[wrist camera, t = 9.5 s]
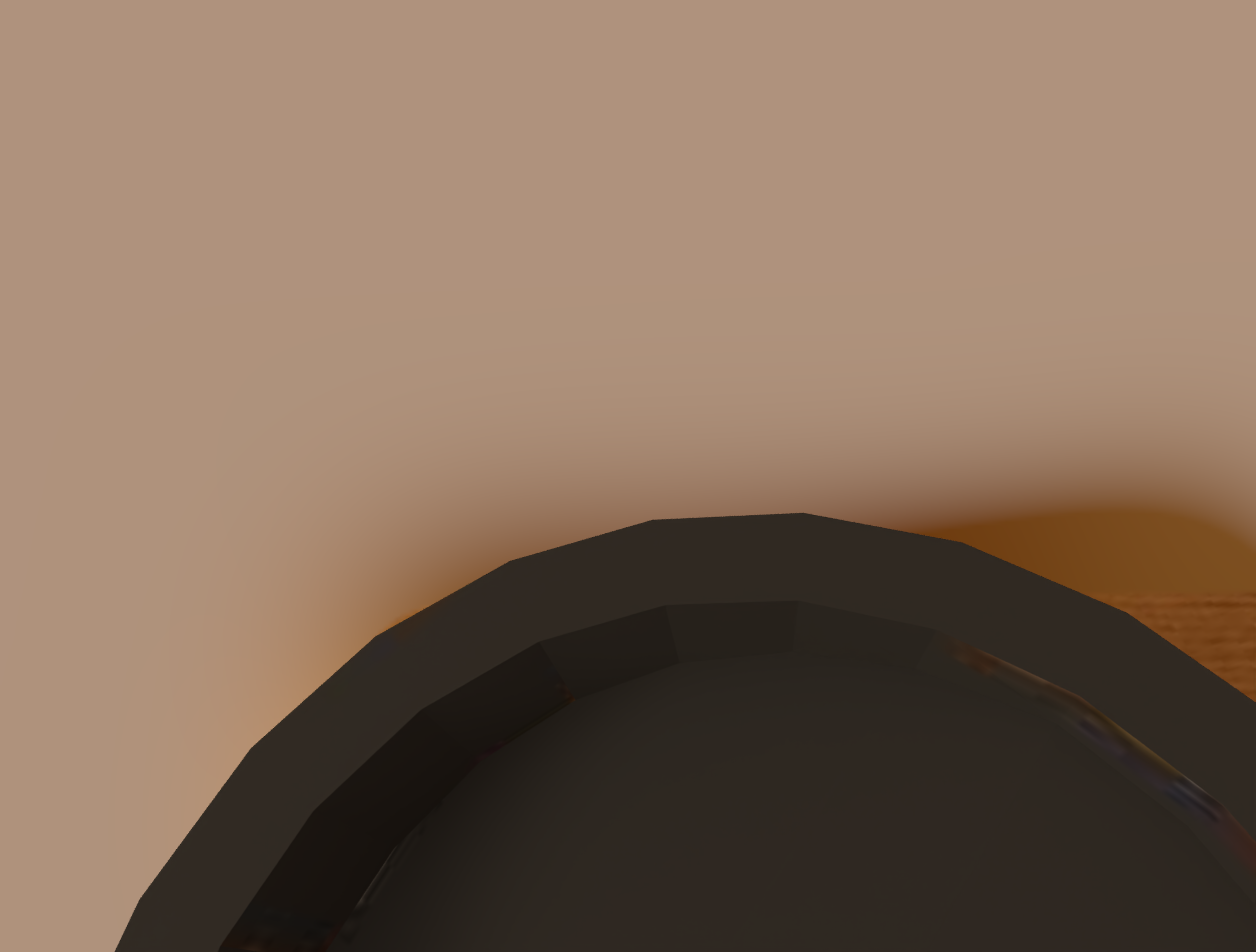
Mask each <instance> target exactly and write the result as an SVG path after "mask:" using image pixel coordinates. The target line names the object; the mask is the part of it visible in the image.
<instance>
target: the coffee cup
mask: <svg viewBox="0 0 1256 952" xmlns="http://www.w3.org/2000/svg"><path fill="white" fill-rule="evenodd" d="M115 952H1256V702H1254V701H1253V700H1251V699H1250V698H1248V697H1247V696H1246V695H1244V694H1243V693H1241V692H1240V691H1238V690H1237V689H1236V688H1234V687H1233V686H1231V685H1230V684H1228V683H1227V682H1226V681H1224V680H1223V679H1221V678H1220V677H1218V676H1217V675H1215V674H1214V673H1213V672H1211V671H1210V670H1208V669H1207V668H1205V667H1204V666H1203V665H1201V664H1200V663H1198V662H1197V661H1195V660H1194V659H1192V658H1191V657H1190V656H1188V655H1187V654H1185V653H1184V652H1182V651H1181V650H1180V649H1178V648H1177V647H1175V646H1174V645H1172V644H1171V643H1170V642H1168V641H1167V640H1165V639H1164V638H1162V637H1161V636H1159V635H1158V634H1157V633H1155V632H1154V631H1152V630H1151V629H1149V628H1148V627H1147V626H1145V625H1144V624H1142V623H1141V622H1139V621H1138V620H1137V619H1135V618H1134V617H1132V616H1131V615H1129V614H1128V613H1126V612H1124V611H1121V610H1119V609H1117V608H1114V607H1112V606H1110V605H1107V604H1105V603H1103V602H1100V601H1098V600H1096V599H1093V598H1091V597H1088V596H1086V595H1084V594H1081V593H1079V592H1077V591H1074V590H1072V589H1070V588H1067V587H1065V586H1063V585H1060V584H1058V583H1056V582H1053V581H1051V580H1049V579H1046V578H1044V577H1042V576H1039V575H1037V574H1034V573H1032V572H1030V571H1027V570H1025V569H1023V568H1020V567H1018V566H1016V565H1013V564H1011V563H1009V562H1006V561H1004V560H1002V559H999V558H997V557H995V556H992V555H990V554H987V553H985V552H983V551H981V550H978V549H976V548H974V547H971V546H969V545H966V544H964V543H961V542H957V541H951V540H946V539H941V538H935V537H930V536H925V535H919V534H914V533H908V532H903V531H897V530H892V529H887V528H882V527H876V526H871V525H865V524H860V523H855V522H849V521H844V520H838V519H833V518H828V517H822V516H817V515H812V514H806V513H793V514H792V513H791V514H770V515H749V516H726V517H705V518H685V519H684V518H683V519H662V520H651V521H647V522H644V523H641V524H637V525H633V526H630V527H626V528H623V529H619V530H616V531H612V532H609V533H606V534H602V535H599V536H595V537H592V538H589V539H585V540H582V541H578V542H575V543H571V544H567V545H564V546H561V547H557V548H554V549H550V550H547V551H543V552H540V553H536V554H533V555H529V556H526V557H522V558H519V559H515V560H512V561H509V562H508V563H506V564H504V565H502V566H500V567H499V568H497V569H495V570H493V571H491V572H490V573H488V574H486V575H484V576H482V577H481V578H479V579H477V580H475V581H474V582H472V583H470V584H469V585H466V586H465V587H463V588H461V589H459V590H458V591H456V592H454V593H452V594H450V595H449V596H447V597H445V598H443V599H442V600H440V601H438V602H436V603H434V604H433V605H431V606H429V607H427V608H425V609H424V610H422V611H420V612H418V613H417V614H415V615H413V616H411V617H409V618H408V619H406V620H404V621H402V622H401V623H399V624H397V625H395V626H393V627H392V628H390V629H388V630H386V631H384V632H383V633H381V634H379V635H377V636H376V637H374V638H373V639H372V640H371V641H370V642H369V643H368V644H367V645H366V646H364V648H362V649H361V650H360V651H359V652H358V653H357V654H356V655H355V656H353V657H352V658H351V659H350V660H349V661H348V662H347V663H345V665H343V666H342V667H341V668H340V669H339V670H338V671H337V672H335V673H334V674H333V675H332V676H331V677H330V678H329V679H328V680H327V681H326V682H324V683H323V684H322V685H321V686H320V687H319V688H318V689H316V690H315V692H313V693H312V694H311V695H310V696H309V697H308V698H306V699H305V700H304V701H303V702H302V703H301V704H300V705H299V706H298V707H297V708H295V709H294V710H293V711H292V712H291V713H290V714H289V715H288V716H286V717H285V718H284V719H283V720H282V721H281V722H280V723H279V724H277V725H276V726H275V727H274V728H273V729H272V730H271V731H270V732H269V733H267V734H266V735H265V736H264V737H263V738H262V739H261V740H260V741H258V742H257V743H256V744H255V745H254V746H253V747H252V748H251V749H250V750H249V752H248V753H247V754H246V756H245V757H244V759H243V760H242V761H241V763H240V764H239V765H238V767H237V768H236V770H235V771H234V772H233V773H232V775H231V776H230V778H229V779H228V780H227V782H226V783H225V784H224V786H223V787H222V788H221V790H220V791H219V792H218V794H217V795H216V796H215V798H214V799H213V801H212V802H211V803H210V805H209V806H208V807H207V809H206V810H205V811H204V813H203V814H202V816H201V817H200V818H199V820H198V821H197V822H196V824H195V825H194V826H193V828H192V829H191V830H190V832H189V833H188V834H187V836H186V837H185V839H184V840H183V841H182V843H181V844H180V846H179V847H178V848H177V849H176V851H175V852H174V854H173V855H172V856H171V858H170V859H169V860H168V862H167V863H166V864H165V866H164V867H163V869H162V870H161V871H160V872H159V874H158V875H157V877H156V878H155V879H154V881H153V882H152V883H151V885H150V886H149V887H148V889H147V890H146V892H145V893H144V894H143V896H142V897H141V898H140V900H139V902H138V904H137V906H136V908H135V910H134V912H133V914H132V916H131V919H130V921H129V923H128V925H127V927H126V929H125V931H124V933H123V935H122V938H121V940H120V942H119V944H118V946H117V948H116V950H115Z"/></svg>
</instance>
